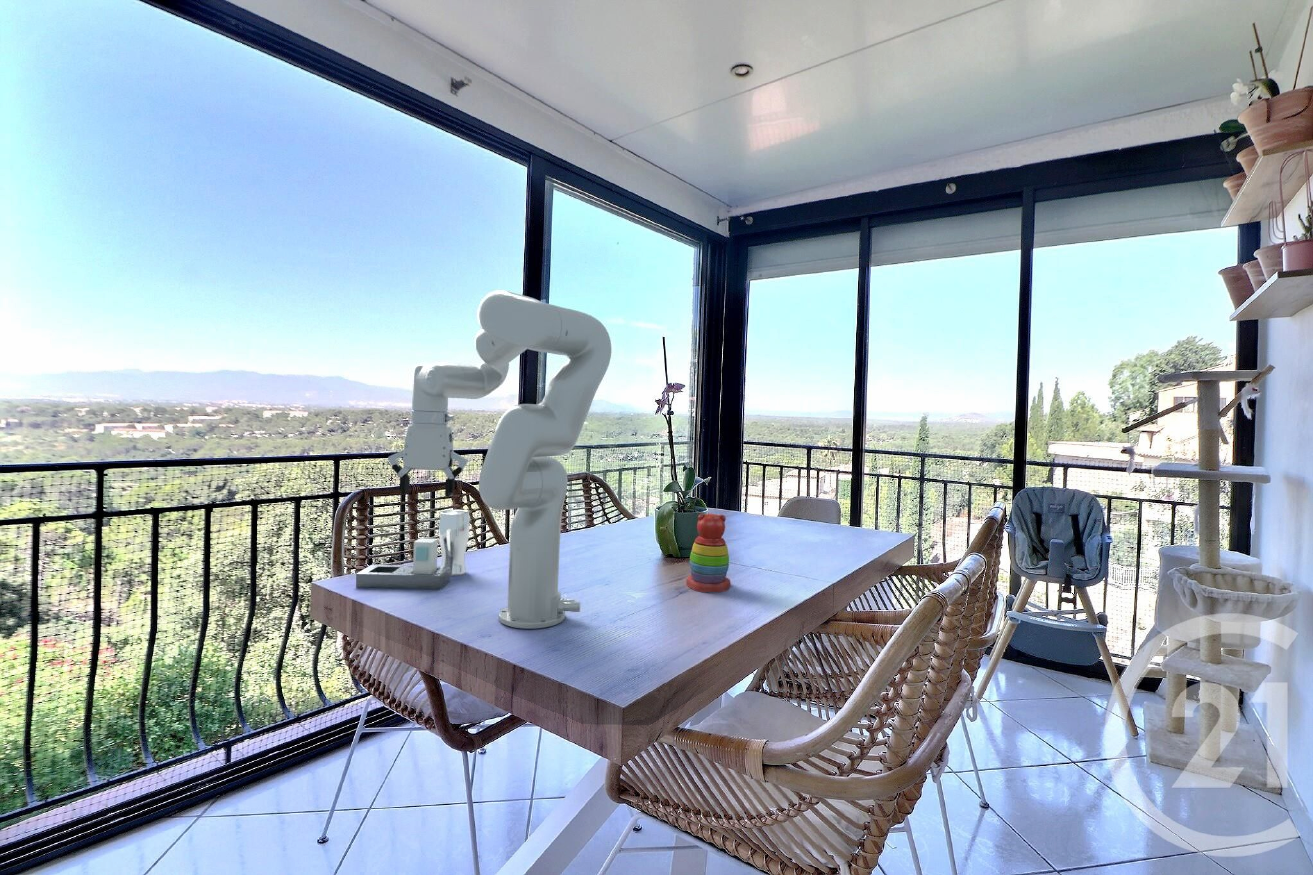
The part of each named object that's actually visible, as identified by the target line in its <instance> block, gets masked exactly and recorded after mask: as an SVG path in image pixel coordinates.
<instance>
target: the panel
mask: <svg viewBox="0 0 1313 875" xmlns="http://www.w3.org/2000/svg"><path fill="white" fill-rule="evenodd" d="M450 580H451V576H450V567H441V566H437V571H436V572H435V573H434V574H413V565H395V564H391V565H390V564H371V565H369V566H367V567H366V568H364V569H362V570H360V571H358V572H357V573H356V574H355V588H365V589H366V588H367V589H369V588H370V589H371V588H373V589H398V590H399V589H403V590H404V589H405V590H407V589H409V590H436V591H437V590H441V589H442V588H443V587H444V586H445V585H446V584H447V583H448V582H449V581H450Z"/></svg>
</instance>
